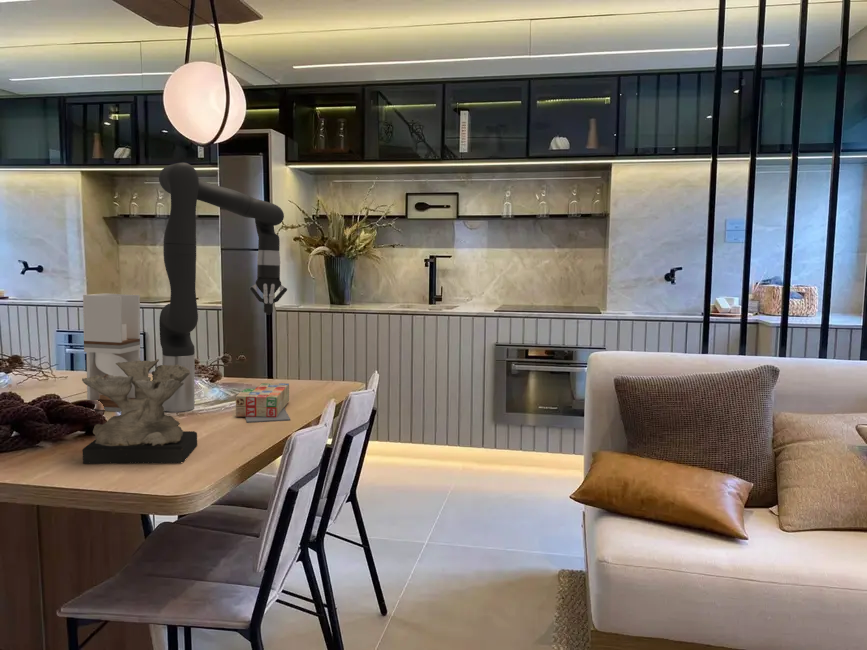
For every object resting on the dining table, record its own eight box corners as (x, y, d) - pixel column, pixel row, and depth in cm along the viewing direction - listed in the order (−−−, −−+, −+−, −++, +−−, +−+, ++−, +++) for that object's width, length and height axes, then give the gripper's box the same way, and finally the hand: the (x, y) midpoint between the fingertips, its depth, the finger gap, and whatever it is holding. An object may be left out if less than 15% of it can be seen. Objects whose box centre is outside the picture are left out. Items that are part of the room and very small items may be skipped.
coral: (65, 464, 133) (63, 370, 131) (104, 438, 153) (103, 356, 151) (181, 464, 136) (181, 372, 134) (205, 439, 156) (205, 358, 154)
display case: (85, 409, 180) (83, 294, 177) (106, 402, 191) (104, 293, 188) (121, 411, 180) (119, 296, 176) (140, 403, 190) (139, 295, 187)
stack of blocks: (289, 401, 200) (252, 400, 199) (289, 383, 199) (252, 382, 198) (276, 417, 178) (234, 416, 178) (276, 397, 178) (234, 396, 177)
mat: (246, 422, 173) (246, 421, 173) (241, 404, 195) (241, 403, 195) (290, 420, 177) (290, 419, 177) (280, 402, 200) (280, 401, 199)
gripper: (287, 264, 209) (286, 313, 210) (247, 263, 204) (247, 313, 205) (289, 264, 202) (289, 315, 203) (249, 263, 197) (248, 315, 198)
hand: (268, 314), depth 204 cm, fingers closed
